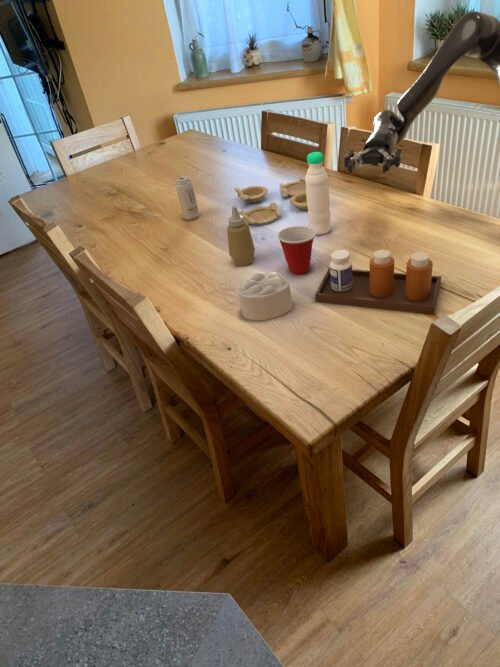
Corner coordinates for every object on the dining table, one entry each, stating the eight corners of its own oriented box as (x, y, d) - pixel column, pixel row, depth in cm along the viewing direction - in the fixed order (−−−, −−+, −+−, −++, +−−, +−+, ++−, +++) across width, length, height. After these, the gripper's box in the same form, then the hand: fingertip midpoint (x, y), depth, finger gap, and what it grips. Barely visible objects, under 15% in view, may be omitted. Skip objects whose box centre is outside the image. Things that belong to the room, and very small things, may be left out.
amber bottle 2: (431, 288, 126) (434, 250, 120) (428, 302, 122) (431, 263, 115) (407, 286, 129) (409, 249, 122) (403, 299, 125) (405, 261, 118)
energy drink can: (194, 221, 182) (184, 182, 172) (181, 220, 184) (170, 181, 175) (203, 214, 185) (194, 175, 176) (190, 213, 188) (180, 174, 179)
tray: (440, 283, 129) (441, 276, 127) (433, 314, 119) (434, 307, 118) (329, 274, 140) (329, 267, 139) (315, 301, 131) (315, 294, 129)
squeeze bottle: (248, 269, 149) (239, 214, 138) (226, 266, 153) (214, 211, 142) (261, 256, 154) (252, 201, 143) (239, 253, 158) (229, 199, 147)
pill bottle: (353, 280, 134) (352, 248, 128) (351, 292, 130) (350, 259, 124) (332, 280, 136) (330, 248, 130) (329, 292, 132) (327, 260, 126)
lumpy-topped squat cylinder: (296, 309, 129) (293, 281, 124) (250, 326, 127) (245, 298, 121) (279, 291, 137) (276, 264, 132) (236, 306, 135) (231, 279, 129)
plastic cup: (326, 266, 144) (323, 228, 137) (302, 283, 139) (298, 245, 131) (297, 256, 151) (294, 220, 143) (274, 272, 145) (268, 236, 138)
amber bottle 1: (395, 285, 130) (396, 248, 123) (391, 298, 126) (392, 260, 119) (372, 283, 132) (372, 246, 125) (367, 296, 128) (367, 259, 121)
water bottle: (314, 224, 165) (308, 149, 150) (334, 226, 162) (330, 150, 147) (305, 234, 161) (298, 158, 146) (326, 236, 158) (321, 158, 142)
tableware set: (243, 231, 170) (241, 220, 167) (226, 200, 193) (224, 190, 190) (339, 206, 173) (339, 195, 171) (311, 179, 196) (311, 169, 194)
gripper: (353, 133, 137) (338, 154, 126) (407, 131, 132) (396, 154, 120) (354, 160, 142) (340, 183, 130) (405, 159, 136) (395, 183, 125)
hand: (367, 169), depth 125 cm, fingers open, 8 cm apart
